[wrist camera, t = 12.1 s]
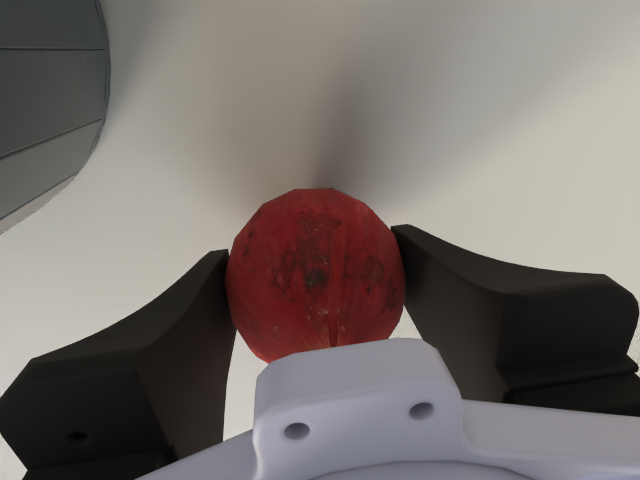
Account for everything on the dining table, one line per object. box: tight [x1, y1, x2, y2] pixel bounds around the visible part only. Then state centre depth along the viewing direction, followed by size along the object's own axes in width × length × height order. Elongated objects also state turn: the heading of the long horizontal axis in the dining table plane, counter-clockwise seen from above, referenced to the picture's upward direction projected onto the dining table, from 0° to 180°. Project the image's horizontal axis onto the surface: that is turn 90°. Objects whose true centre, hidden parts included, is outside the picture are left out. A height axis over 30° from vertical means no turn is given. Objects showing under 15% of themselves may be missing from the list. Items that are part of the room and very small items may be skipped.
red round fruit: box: [224, 188, 406, 364], centre depth 12 cm, size 6×6×8 cm
